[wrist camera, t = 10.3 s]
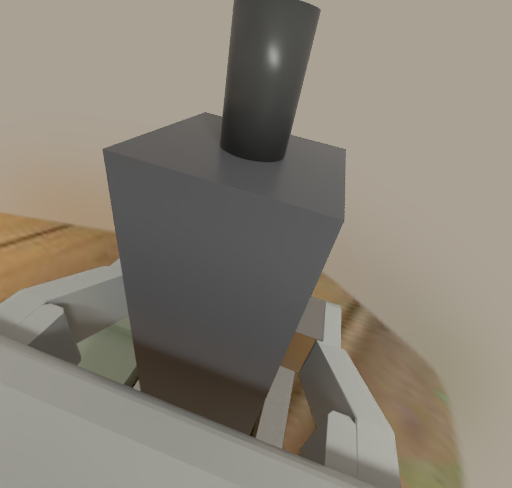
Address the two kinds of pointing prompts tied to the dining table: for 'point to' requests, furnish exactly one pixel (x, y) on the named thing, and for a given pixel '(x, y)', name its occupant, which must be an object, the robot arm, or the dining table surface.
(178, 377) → the plug
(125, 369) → the tray
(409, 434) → the dining table surface
